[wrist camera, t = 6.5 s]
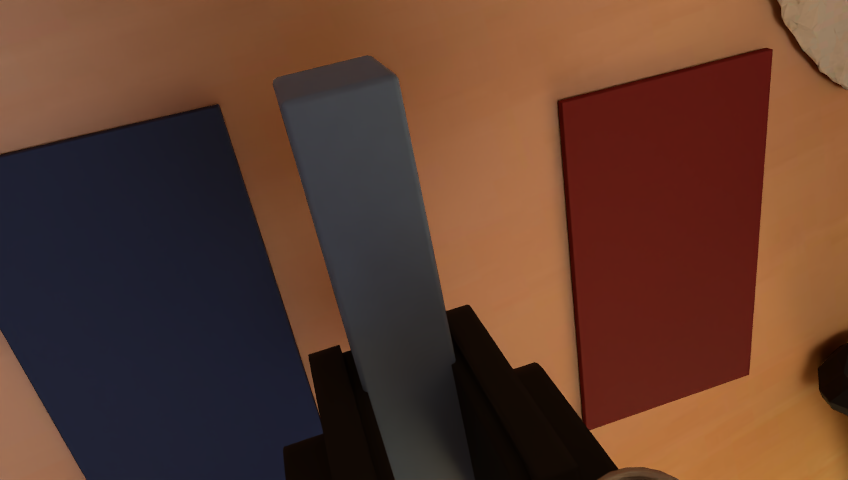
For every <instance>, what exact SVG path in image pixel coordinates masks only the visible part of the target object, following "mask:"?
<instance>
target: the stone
mask: <svg viewBox="0 0 848 480" xmlns="http://www.w3.org/2000/svg"><path fill="white" fill-rule="evenodd" d="M777 1H778V2H779V4H780V6H781V16H782V19H783V21H784V23H785V25H786V26H787V27H788V29H789V30H790V31H791V32H792V33H793V35H794V36H795V38H796V39H797V41H798V43H799V44H800V47H801V49H802V50H803V51H805V52H806V53H807V54H808V56H809V57H810V58H812V60H813V61H814V62H815V63H816V64H817V66H818V68H819V71H820V72H822V73H824V74H826V75H827V76H828V77H829V78H830V79H831V80H832V81H833V82H836V83H838V84H840V85H842V87H843V88H844V89H846V90H848V0H777Z"/></svg>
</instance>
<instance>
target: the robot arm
mask: <svg viewBox="0 0 848 480" xmlns="http://www.w3.org/2000/svg"><path fill="white" fill-rule="evenodd" d="M446 315H447V320H448V325H449V329H450V334H451V339H452V344H453V349H454V354H455V359H456V361H455V363H454V364H452V365H451V366H452V371H453V375H454V380H455V385H456V390H457V395H458V400H459V405H460V409H461V414H462V419H463V424H464V429H465V434H466V438H467V443H468V448H469V453H470V458H471V463H472V468H473V472H474V477H475V480H678V479H677V478H675V477H673V476H670V475H668V474H666V473H664V472H662V471H658V470H654V469H649V468H645V467H627V468H622V469H618V468H617V467H616V465H615V464H614V463H613V461H612V460H611V459H610V457H609V456H608V455H607V453H606V452H605V451H604V449H603V448H602V447H601V445H600V444H599V443H598V441H597V440H596V439H595V437H594V436H593V435H592V433H591V432H590V431H589V429H588V428H587V427H586V425H585V424H584V423H583V421H582V420H581V419H580V417H579V416H578V415H577V413H576V412H575V411H574V409H573V408H572V407H571V405H570V404H569V403H568V401H567V400H566V399H565V397H564V396H563V395H562V393H561V392H560V391H559V389H558V388H557V387H556V385H555V384H554V383H553V381H552V380H551V379H550V377H549V376H548V375H547V373H546V372H545V371H544V369H543V368H542V367H541V366H540V365H539V364H538V363H535V362H534V363H531V364H528V365H525V366H522V367H519V368H516V369H513V368H512V367H511V366H510V364H509V363H508V361H507V360H506V358H505V357H504V355H503V354H502V352H501V351H500V349H499V348H498V346H497V345H496V343H495V342H494V340H493V339H492V337H491V336H490V334H489V333H488V332H487V330H486V329H485V327H484V326H483V324H482V323H481V321H480V320H479V318H478V317H477V315H476V314H475V312H474V311H473V309H472V308H471V307H470V305H464V306H461V307H458V308H455V309H452V310H448V311H446ZM308 356H309V362H310V367H311V373H312V378H313V383H314V388H315V393H316V399H317V404H318V409H319V414H320V419H321V424H322V430H323V434H320V435H317V436H314V437H311V438H308V439H305V440H302V441H299V442H296V443H293V444H291V445H288V446H285V447H284V448H283V459H284V469H285V478H286V480H395V478H394V475H393V472H392V469H391V466H390V462H389V459H388V456H387V453H386V450H385V446H384V443H383V440H382V437H381V434H380V430H379V427H378V424H377V421H376V418H375V414H374V411H373V408H372V405H371V401H370V398H369V395H368V392H365V391H364V390H363V388H362V385H361V381H360V378H359V375H358V371H357V368H356V365H355V361H354V358H353V355H352V352H351V350H350V351H347V352H344V353H342V351H341V348H340V345H338V346H334V347H331V348H328V349H325V350H322V351H319V352H315V353H312V354H309V355H308Z"/></svg>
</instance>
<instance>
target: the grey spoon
mask: <svg viewBox="0 0 848 480" xmlns="http://www.w3.org/2000/svg"><path fill="white" fill-rule="evenodd" d="M273 87H274V90H275V94H276V97H277V101H278V104H279V107H280V111H281V114H282V118H283V121H284V124H285V128H286V131H287V135H288V138H289V141H290V145H291V148H292V152H293V155H294V158H295V162H296V165H297V168H298V172H299V175H300V179H301V182H302V185H303V189H304V192H305V196H306V199H307V202H308V206H309V209H310V213H311V216H312V219H313V223H314V226H315V230H316V233H317V236H318V240H319V243H320V247H321V250H322V253H323V257H324V260H325V264H326V267H327V270H328V274H329V277H330V281H331V284H332V287H333V291H334V294H335V298H336V301H337V304H338V308H339V311H340V315H341V318H342V321H343V325H344V328H345V332H346V335H347V338H348V342H349V345H350V349H351V352H352V355H353V358H354V361H355V365H356V368H357V371H358V375H359V378H360V381H361V385H362V388H363V390H364V391H365V392H368V395H369V398H370V401H371V405H372V408H373V411H374V414H375V418H376V421H377V424H378V427H379V430H380V434H381V437H382V440H383V443H384V446H385V450H386V453H387V456H388V459H389V462H390V466H391V469H392V472H393V475H394V478H395V480H475V477H474V472H473V468H472V463H471V458H470V453H469V448H468V443H467V438H466V434H465V429H464V424H463V419H462V414H461V409H460V405H459V400H458V395H457V390H456V385H455V380H454V375H453V371H452V366H451V365H452V364H454V363H455V361H456V359H455V354H454V349H453V344H452V339H451V334H450V329H449V325H448V320H447V315H446V310H445V305H444V300H443V295H442V290H441V285H440V280H439V275H438V270H437V266H436V261H435V256H434V251H433V246H432V241H431V236H430V231H429V226H428V221H427V216H426V212H425V207H424V202H423V197H422V192H421V187H420V182H419V177H418V172H417V167H416V162H415V158H414V153H413V148H412V143H411V138H410V133H409V128H408V123H407V118H406V113H405V108H404V104H403V99H402V94H401V89H400V84H399V79H398V77H397V76H396V74H394V73H393V72H392V71H390V70H389V69H388V68H386V67H385V66H384V65H382V64H381V63H380V62H379V61H377V60H376V59H375V58H373V57H372V56H368V55H367V56H362V57H358V58H354V59H350V60H346V61H342V62H338V63H334V64H330V65H326V66H322V67H317V68H313V69H309V70H305V71H301V72H297V73H293V74H289V75H285V76H281V77H277V78H276V79H274V80H273Z"/></svg>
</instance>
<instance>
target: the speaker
mask: <svg viewBox="0 0 848 480" xmlns="http://www.w3.org/2000/svg"><path fill="white" fill-rule="evenodd" d="M818 377H819V390H820V393H821V395H822V397H823V398H824V399H825V401H826V402H827V403H828V404H829V405H830V406H831V408H832V409H834V410H836V411H838V412H841V413H843V414H845V415H847V416H848V343H847V344H845V345H842V346H840V347H839V348H838V349H837V350H836V351H834V352H833V353H832V354H831V355H830V356H829V357H828V358H827V359H826V360H825V361H824V363H823V364H822V365H821V366H820V367H819V368H818Z"/></svg>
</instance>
